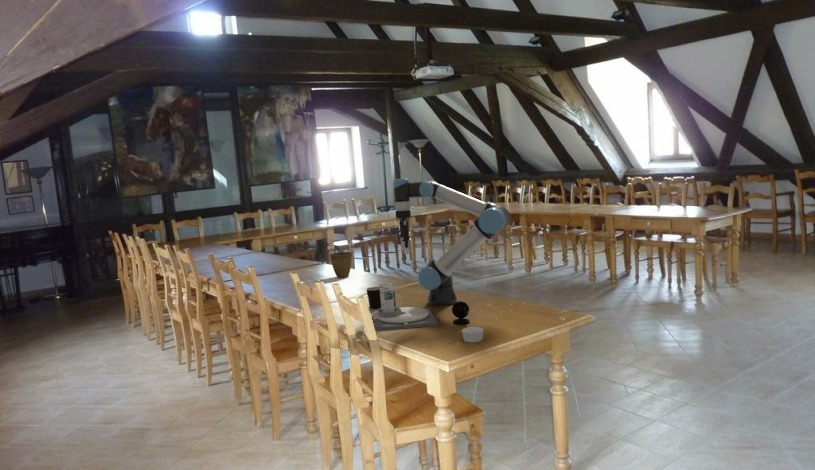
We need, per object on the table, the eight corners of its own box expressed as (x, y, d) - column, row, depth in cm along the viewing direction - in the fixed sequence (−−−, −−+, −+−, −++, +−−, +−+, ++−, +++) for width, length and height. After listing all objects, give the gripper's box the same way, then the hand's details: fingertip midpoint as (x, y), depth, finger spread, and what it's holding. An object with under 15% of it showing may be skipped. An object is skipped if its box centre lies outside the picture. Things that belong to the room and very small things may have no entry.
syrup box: (384, 316, 292) (382, 285, 291) (381, 313, 298) (379, 283, 296) (396, 314, 294) (394, 284, 292) (392, 312, 300) (390, 282, 298)
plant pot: (357, 277, 415) (356, 253, 413) (337, 280, 407) (335, 256, 405) (348, 274, 428) (346, 250, 426) (328, 277, 420) (326, 253, 418)
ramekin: (472, 344, 252) (471, 334, 251) (458, 340, 259) (457, 330, 259) (488, 339, 257) (488, 329, 257) (474, 335, 264) (473, 325, 264)
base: (429, 310, 312) (428, 306, 311) (437, 325, 284) (437, 321, 284) (372, 315, 309) (372, 311, 309) (375, 330, 281) (374, 326, 281)
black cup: (382, 309, 321) (380, 290, 319) (365, 309, 322) (364, 290, 321) (387, 304, 332) (386, 285, 331) (371, 304, 334) (370, 285, 332)
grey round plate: (434, 319, 287) (433, 311, 286) (381, 325, 282) (381, 316, 282) (422, 308, 310) (422, 300, 310) (374, 313, 306) (373, 305, 305)
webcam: (452, 325, 282) (450, 303, 280) (453, 321, 289) (452, 299, 288) (469, 325, 281) (468, 303, 279) (470, 320, 288) (469, 299, 287)
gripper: (393, 208, 326) (396, 249, 328) (397, 212, 301) (400, 256, 303) (407, 207, 326) (410, 248, 329) (413, 211, 302) (415, 255, 304)
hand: (405, 252), depth 316 cm, fingers open, 13 cm apart
